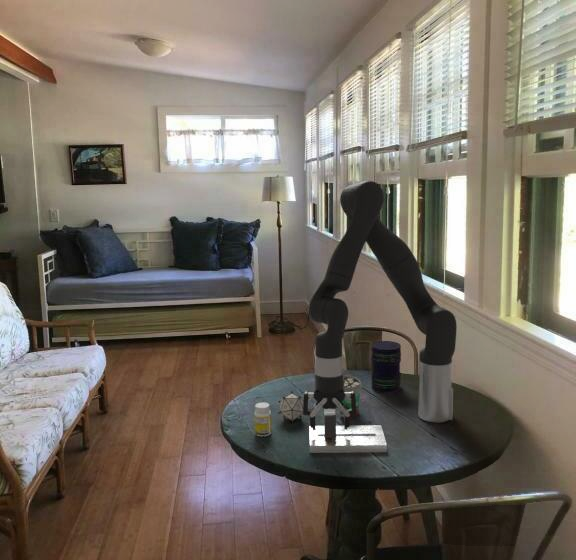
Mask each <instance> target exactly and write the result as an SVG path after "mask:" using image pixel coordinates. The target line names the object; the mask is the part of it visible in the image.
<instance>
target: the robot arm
mask: <svg viewBox="0 0 576 560" xmlns="http://www.w3.org/2000/svg"><path fill="white" fill-rule="evenodd" d="M384 200H385V194H384V190H383V188H382V187H381V185H379V183H377V182H375V181H373V180H366V181H365V180H364V181H360V182H357V183H354V184H351V185H348V186H345V187H344V188H343V190H342V191H341V193H340V197H339V202H340V206H341V209H342V210H343V213H344V214H345V215H346V217H347V218H348V220H349V221H350V223H349V225H348V227H347V229H346V231H345V232H344V235H342V238H341V239H340V241H339V243H337V245H336V247H335V248H334V251H333V253H332V255H331V257H330V259H329V263H328V266H327V268H326V273H325V276H324V278H323V280H322V281H321V282H320V284H319V285H318V288H317V289H316V291H315V293H313V296H312V297H311V300H310V301H309V304H308V315H309V317H310V319H311V320H312V321H313V322H316V323H318V324H319V323H320V324H324V325H327V329H326V331H321V332H319V333H317V334H316V336H315V340H314V341H315V343H314V345H315V359H314V392H308V391H307V390H305V391H303V399H302V400H303V414H302V415H303V416H309V426H310V427H311V428H313V430H315V426H316V414H317V413H318V412H319V411H320V410H321V409H323V410H324V409H335V410H336V409H337V408H338V410H339V411H340V410H341V411H342V412H343V413H344V419H343V426H344V429H345V430H347V427H349V426H351V423H350V421H351V419H350V416H351V415H353V414H354V415H355V414H356V413H357V411H356V396H355V391H354V390H351V391H350V392H344V389H343V380H344V370H345V369H344V361H343V359H344V358H343V339H344V338H343V337H344V334H345V329H346V326H347V323H348V319H349V308H348V305H347V304H346V302H345V301H344V300H343V299H340V298H337V297H335V296H336V295H338V293H343V292H347V291H348V290H349V289H350V287H351V284H352V281H353V277H354V274H355V271H356V268H357V264H358V261H359V258H360V255H361V253H362V252H363V251H362V250H363V248H364V246H365V244H367V246H368V247H369V249H370V250H371V252H372V254H373V255H374V257H375V259H376V260H377V262H378V263H379V265H380V267H381V268H382V270H383V272H384V273H385V275H386V276H387V279H389V281H390V283H391V284H392V285H393V287H394V289H395V290H396V291H397V293H398V294H399V295H400V297H401V298H402V300H403V301H404V303H405V305H406V306H407V309H408V311H409V313H410V314H411V318H412V319H413V321H414V323H415V325H416V328H417V329H418V330H419V332H421V333H422V334H423V335H425V345H424V348H421V349H420V351H419V355H418V357H419V358H418V360H419V362H418V406H417V408H418V417H419V419H421V420H422V421H426V422H430V423H445V422H447V421H452V420H453V406H454V405H453V402H454V401H453V400H454V388H453V387H452V369H453V366H452V365H453V357H454V355H455V354H454V353H455V351H456V343H457V342H456V341H457V328H458V327H457V320H456V316H455V315H454V313H452V312H451V311H450V310H448V309H446V308H444V307H442V306H440V305H439V304H437V303H436V301H435V300H434V299H433V297H432V296H431V295H430V293H429V292H428V290H427V288H426V286H425V283H424V280H423V275H422V270H421V267H420V264H419V262H418V260H417V259H416V257H415V255H414V254H413V251H412V250H411V248H410V247H409V246H408V244H406V242H405V241H404V240H403V239H402V238H401V237H399V236H398V235H397V234H396V233H394V231H391V230H390V229H389V228H388V227H387V226H386V225H385V224H384V223H383V221H381V219H380V218H379V215H380V212H381V210H382V208H383V205H384ZM345 397H347V398H348V400H351V409H348V408H347V407H346V406H345V404H344V403H343V402H342V401H343V400H344V398H345ZM312 398H314V400H315V401H316V402H315V403H314V404H313V406H312V407H311V409H309V402H310V401H311V400H312Z"/></svg>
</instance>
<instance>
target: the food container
mask: <svg viewBox="0 0 576 560" xmlns="http://www.w3.org/2000/svg"><path fill="white" fill-rule="evenodd" d="M343 389H344V392H350V391H351V390H354V391H355V396H356V411H357V413H356V414H355V415H354V414H353V415H351V416H350V420H351V419H354V418H356V417H357V416H359V412H360V411H359V410H360V409H359V408H360V395H361V392H362V390H363V385H362V382H361V380H360V379H359V378H358V377H356V376H353V375H347V374H346V375H345V374H343ZM342 402H343V403H344V404H345V406H346V407H347V408H348V409H351V400H348V398H347V397H345V398H344V400H343V401H342ZM339 412H340V413H339V414H340V418H339V419H340V420H344V413H343V412H342V411H341V410H340V409H339Z"/></svg>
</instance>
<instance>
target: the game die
mask: <svg viewBox="0 0 576 560" xmlns="http://www.w3.org/2000/svg"><path fill="white" fill-rule="evenodd" d="M277 402H278V403H279V412H277V415H280V414H281V415H282V416H283V418H284V419H285V418H287V419H289V420H290V421H291V424H294V421H295V420H297V419H298V418H302V415H304V414H303V399H302V396H301V395H300V396H297V395H296V394H294V392H293V390H291V391H290V394H288V395H287V396H282V400H278V401H277Z"/></svg>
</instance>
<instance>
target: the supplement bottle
mask: <svg viewBox="0 0 576 560" xmlns="http://www.w3.org/2000/svg"><path fill="white" fill-rule="evenodd" d="M254 407H255V408H254V414H253V417H254V418H253V419H254V433H255V435H256V434H257V435H256V436H258V437H263V436H264V437H267V436H270V435H272V432H273V427H272V412H271V410H270V404H269V403H268V402H258V403H256V404H255V406H254Z"/></svg>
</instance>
